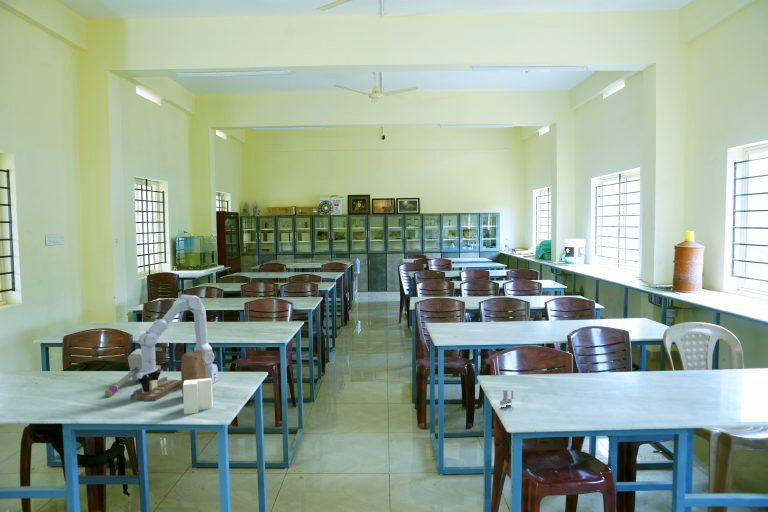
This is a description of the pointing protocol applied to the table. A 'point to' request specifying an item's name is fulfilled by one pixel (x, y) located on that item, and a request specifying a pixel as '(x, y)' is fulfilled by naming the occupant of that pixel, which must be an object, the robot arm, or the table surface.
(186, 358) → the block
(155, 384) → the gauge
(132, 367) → the hammer
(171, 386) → the board
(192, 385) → the corner bracket
